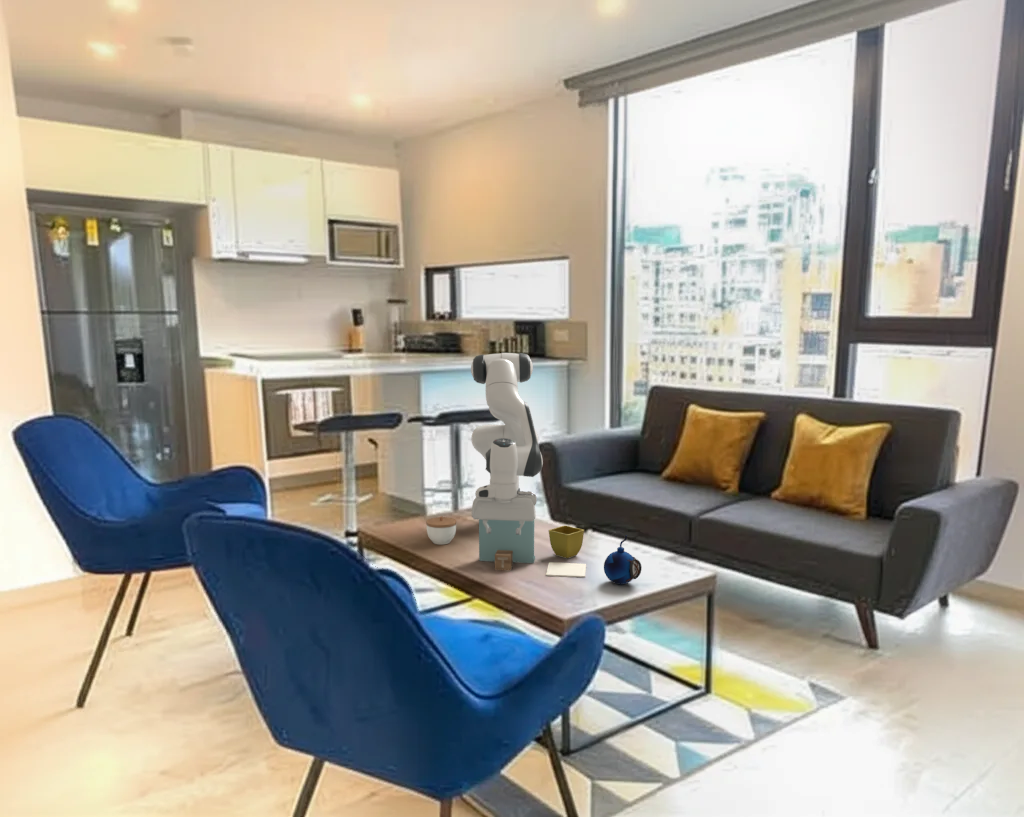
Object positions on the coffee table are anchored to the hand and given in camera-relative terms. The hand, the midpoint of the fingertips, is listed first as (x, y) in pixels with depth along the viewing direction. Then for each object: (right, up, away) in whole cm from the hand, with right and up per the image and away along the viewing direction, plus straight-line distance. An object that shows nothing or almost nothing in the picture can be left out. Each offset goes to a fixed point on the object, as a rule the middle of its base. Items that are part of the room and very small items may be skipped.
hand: (503, 533), depth 232 cm
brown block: (0, -11, +2) cm, 11 cm away
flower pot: (+21, -10, +14) cm, 27 cm away
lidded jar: (-22, -8, +30) cm, 38 cm away
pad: (+20, -11, -1) cm, 23 cm away
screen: (+1, -10, +10) cm, 14 cm away
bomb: (+35, -13, -13) cm, 40 cm away
